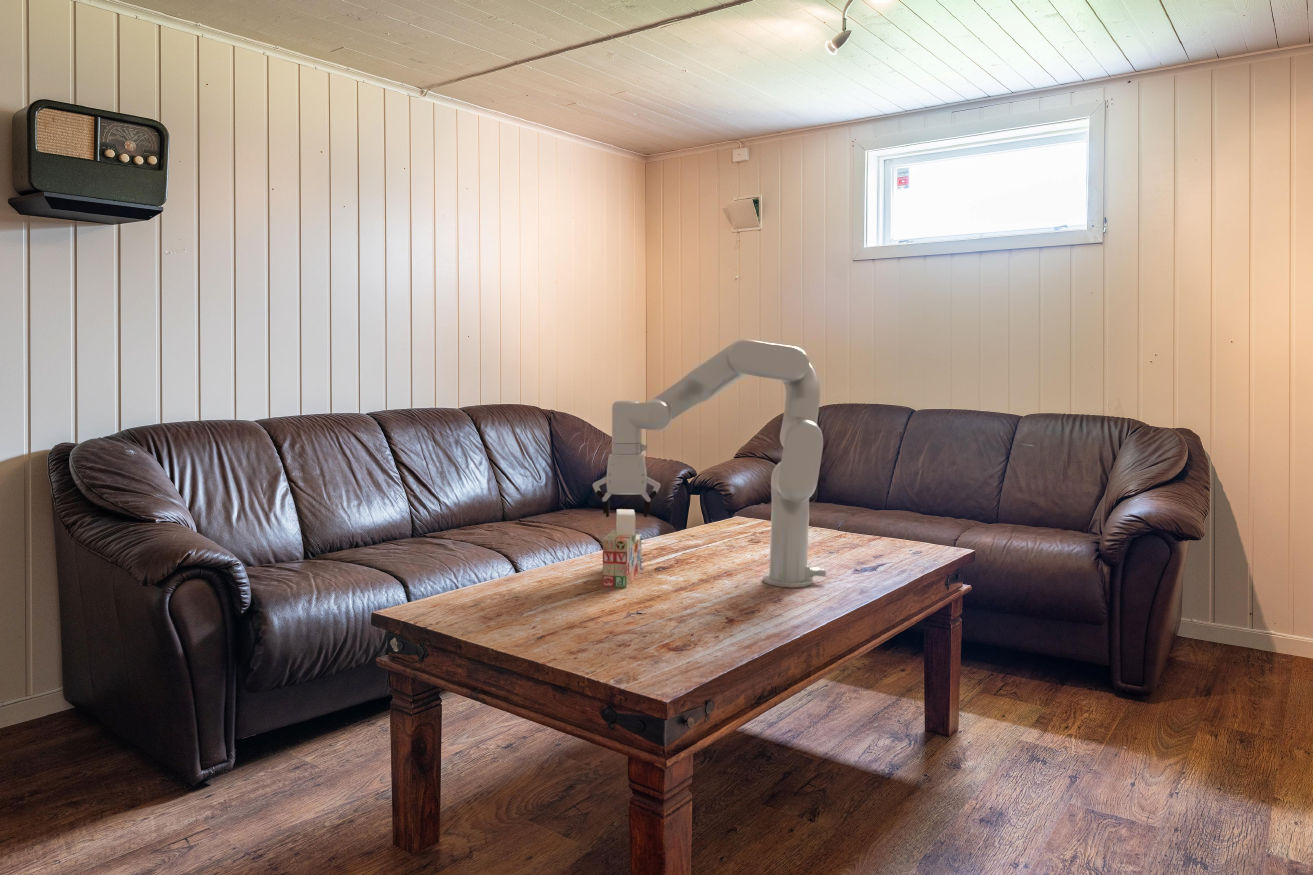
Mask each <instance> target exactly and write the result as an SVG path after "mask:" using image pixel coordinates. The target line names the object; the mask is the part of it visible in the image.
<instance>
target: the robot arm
mask: <svg viewBox="0 0 1313 875" xmlns="http://www.w3.org/2000/svg"><path fill="white" fill-rule="evenodd" d="M746 375H747V376H753V377H758V378H764V379H774V380H779V381H781V382H782V383H783V384H784V389H785V403H784V412H783V416H782V424H781V428H780V434H779V442H780V445H781V446H782V448H783V449H782V453H781V454H782V455H781V461H779V462H778V463H777V464H776V465H775V466H774V468H773V469H772V473H771V478H770V492H771V494H770V495H771V514H770V517H771V518H770V539H769V540H770V544H769V547H770V548H769V572H767V573H765V574H764V575H763V576H762V579H763V580H762V581H763V582H764V583H765V584H768V585H771V586H774V587H781V588H790V589H791V588H792V589H793V588H795V589H796V588H805V587H810V586H811V585H813V583H814V582H813V581H814V577H826V574H827V571H826V568H819V567H810V565H809V564H808V549H809V523H810V498H811V497H812V496H813V495H814V493H815V491H816V489H817V486H818V481H819V476H820V468H821V462H822V457H823V450H824V449H823V448H824V438H823V437H824V436H823V432H822V430H821V428H820V427H819V424H818V420H819V419H818V418H819V412H820V411H819V410H820V403H821V400H820V399H821V385H820V381H819V378H818V375H817V373H816V371H815V369H814V367H813V365H812V364H811V363H810V358H809V356H808V355H807V353H806V351H805V350H804V349H802V348H800V347H798V346H794V345H793V346H792V345H785V344H780V343H779V344H778V343H771V342H770V343H769V342H765V341H759V340H758V341H757V340H754V339H753V340H752V339H748V338H747V339H746V338H743V339H739V340H737V341H733V343H730V344H729V345H727V346H726V347H724V348H723V349H722V350H720V351H719V352H717V353H716V354H715V355H713V356H712V357H710V358H709V359H707V360H706V361H703V363H701V364H699V365H698V366H696V367H695V368H693V369H692V370H691V371H689V372H688V373H687V374H686V375H685V376H684V377H683V378H681V379H680V380H678V381H677V382H675V383H674V384H673V385H671V386H670V387H669V388H667V389H665V390H664V391H662V392H661V393H660V394H658V395H656V396H655V397H653V398H652V399H651V400H649V401H646V402H639V401H637V400H617V401H615V402H613V403H612V407H611V453H609V455H608V459H607V469H606V476H604V477H602V478H601V479H599V480H597V481H595V482H593V483H592V486H591V487H592V488H593V490H594V492H595V493H596V496H598V498H599V499H601V501H602V502H603V504H602V505H603V508H602V509H603V512H602V513H603V514H605V517H606V518H609V517H610V500H609V499H610V497H611V496H612V495H640V496H642V498H643V499H644V501H643V517H644V518H647V517H648V514H650V509H651V508H650V506H651V505H650V503H651V500H653V499H654V498H655V496H657V494H658V492H659V490H660V488H661V483H660V482H657V481H656V480H654V479H652V478H650V477H648V476H647V463H646V457H645V454H643V453H642V452H644V451H648V445H646V444H644V443H643V442H642V440H643V439H642V438H643V437H642V434H643V433H642V432H643V430H648V431H655V432H656V431H657V432H659V431H662V430H663V431H664V430H665V429H667V428H668V426H670V424H671V422H672V421H673V420H675V419H676V418H677V417H679V416H680V415H682V414H683V413H684V412H685V413H686V411H688V410H690V409H691V408H692V407H694V406H697V405H698V404H701V403H704V402H706V401H709V400H710V399H712V398H715V396H717V395H718V394H720V393H721V392H723V391H724V390H726V389H727V388H729V387H730V386H732V385H733V384H735V383H736V382H738V381H739V380H740V379H742V378H744V377H746ZM604 484H606V492H605V493H604V492H603V491H602V490H601V488H600V486H602V485H604ZM648 485H650V486H653V489H652V491H651V492H650V493H648V492H647V487H648Z"/></svg>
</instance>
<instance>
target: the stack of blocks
mask: <svg viewBox="0 0 1313 875" xmlns="http://www.w3.org/2000/svg"><path fill="white" fill-rule="evenodd" d="M636 532H637V530H636V529H635V535H617V530H616V528H613V529H612V530H611V531H610V532H609V533H608V534H607V535H606V536H604V537H603V538H602V576H601V577H602V579H601V580H602V581H601V586H602V587H606V588H607V587H608V588H609V587H610V588H621V589H624V588H625V589H627V588H628V586H629V585H630V584H631V583H632V582H633V580H634V578H635V577H636V575H637V574H638V573H639V572H640V570H642V553H643V552H642V551H643V550H642V548H643V547H642V534H638V533H636Z"/></svg>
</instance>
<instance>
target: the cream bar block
mask: <svg viewBox="0 0 1313 875" xmlns="http://www.w3.org/2000/svg"><path fill="white" fill-rule="evenodd" d="M615 520H616V525H615V526H616V528H615V529H616V530H617V535H635V530H636V512H635V509H632V508H631V509H629V508H628V509H626V508H624V509H623V508H619V509H618V508H617V509H616V519H615Z"/></svg>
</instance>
